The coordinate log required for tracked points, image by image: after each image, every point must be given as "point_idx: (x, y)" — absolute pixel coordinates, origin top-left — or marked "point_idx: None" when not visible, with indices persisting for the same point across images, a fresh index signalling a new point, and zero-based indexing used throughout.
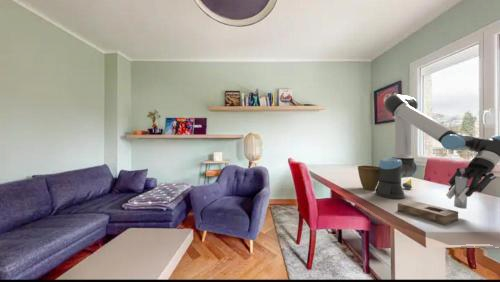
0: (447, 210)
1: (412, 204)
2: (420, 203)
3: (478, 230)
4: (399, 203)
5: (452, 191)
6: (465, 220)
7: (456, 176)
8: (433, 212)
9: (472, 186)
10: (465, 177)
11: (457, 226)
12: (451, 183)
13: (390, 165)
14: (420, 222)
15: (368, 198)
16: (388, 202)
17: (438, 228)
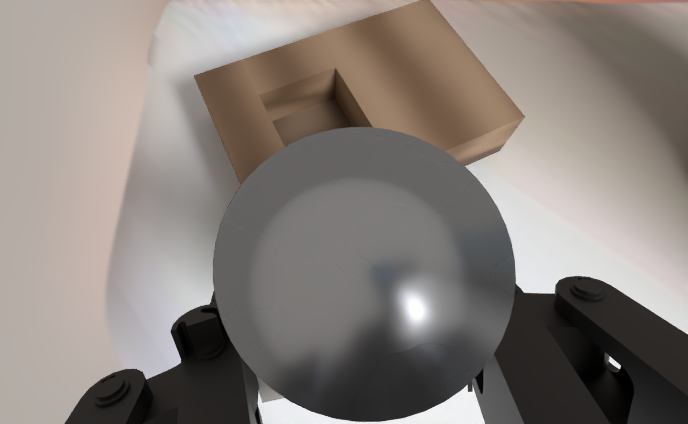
0: None
1: (408, 55)
2: (440, 118)
3: (130, 230)
4: (420, 1)
5: None
6: None
7: (497, 218)
8: (256, 62)
9: (194, 378)
10: (350, 376)
11: (194, 167)
12: (547, 302)
13: None
14: (259, 39)
15: (640, 24)
16: (583, 85)
17: (186, 61)
